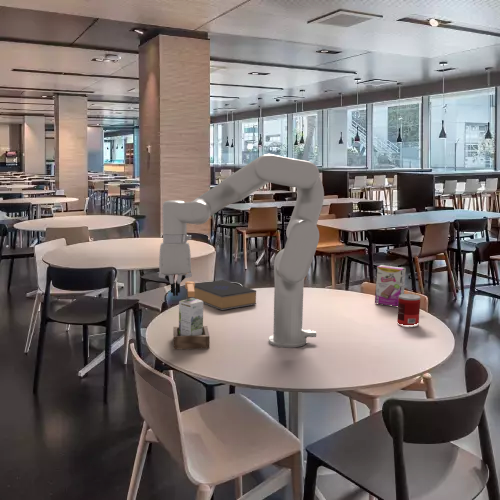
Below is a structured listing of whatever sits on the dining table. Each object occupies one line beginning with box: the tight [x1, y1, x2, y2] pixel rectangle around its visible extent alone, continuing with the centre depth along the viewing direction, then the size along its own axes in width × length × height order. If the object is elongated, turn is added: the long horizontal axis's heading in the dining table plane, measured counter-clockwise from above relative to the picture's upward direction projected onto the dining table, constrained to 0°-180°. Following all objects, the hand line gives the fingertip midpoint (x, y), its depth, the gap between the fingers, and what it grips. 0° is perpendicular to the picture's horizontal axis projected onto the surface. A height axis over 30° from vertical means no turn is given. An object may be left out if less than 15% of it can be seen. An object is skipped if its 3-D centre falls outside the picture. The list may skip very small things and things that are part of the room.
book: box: [194, 279, 257, 311], centre depth 244 cm, size 17×25×7 cm
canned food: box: [396, 293, 421, 325], centre depth 213 cm, size 8×8×11 cm
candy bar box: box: [374, 264, 407, 307], centre depth 242 cm, size 11×5×16 cm, turn 58°
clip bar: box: [184, 281, 196, 297], centre depth 190 cm, size 3×15×2 cm, turn 8°
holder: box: [172, 289, 211, 350], centre depth 191 cm, size 11×18×16 cm, turn 8°
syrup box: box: [178, 298, 204, 336], centre depth 188 cm, size 6×6×14 cm
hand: (175, 294), depth 187 cm, fingers closed
